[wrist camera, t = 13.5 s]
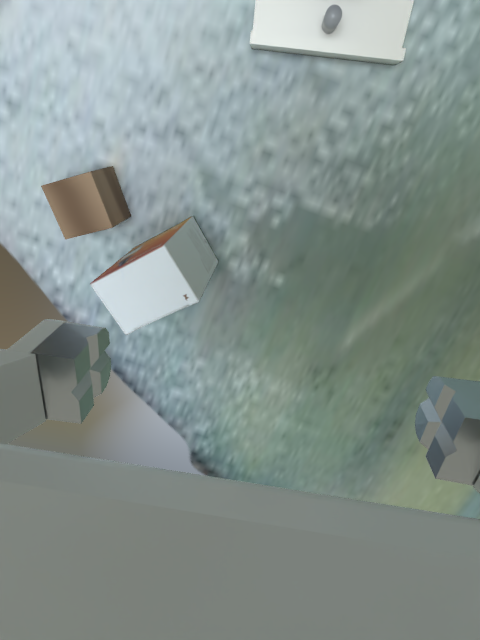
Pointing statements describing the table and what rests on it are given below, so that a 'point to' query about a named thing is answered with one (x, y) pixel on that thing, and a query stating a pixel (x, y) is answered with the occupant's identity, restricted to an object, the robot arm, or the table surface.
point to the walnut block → (87, 202)
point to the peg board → (333, 28)
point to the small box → (157, 277)
